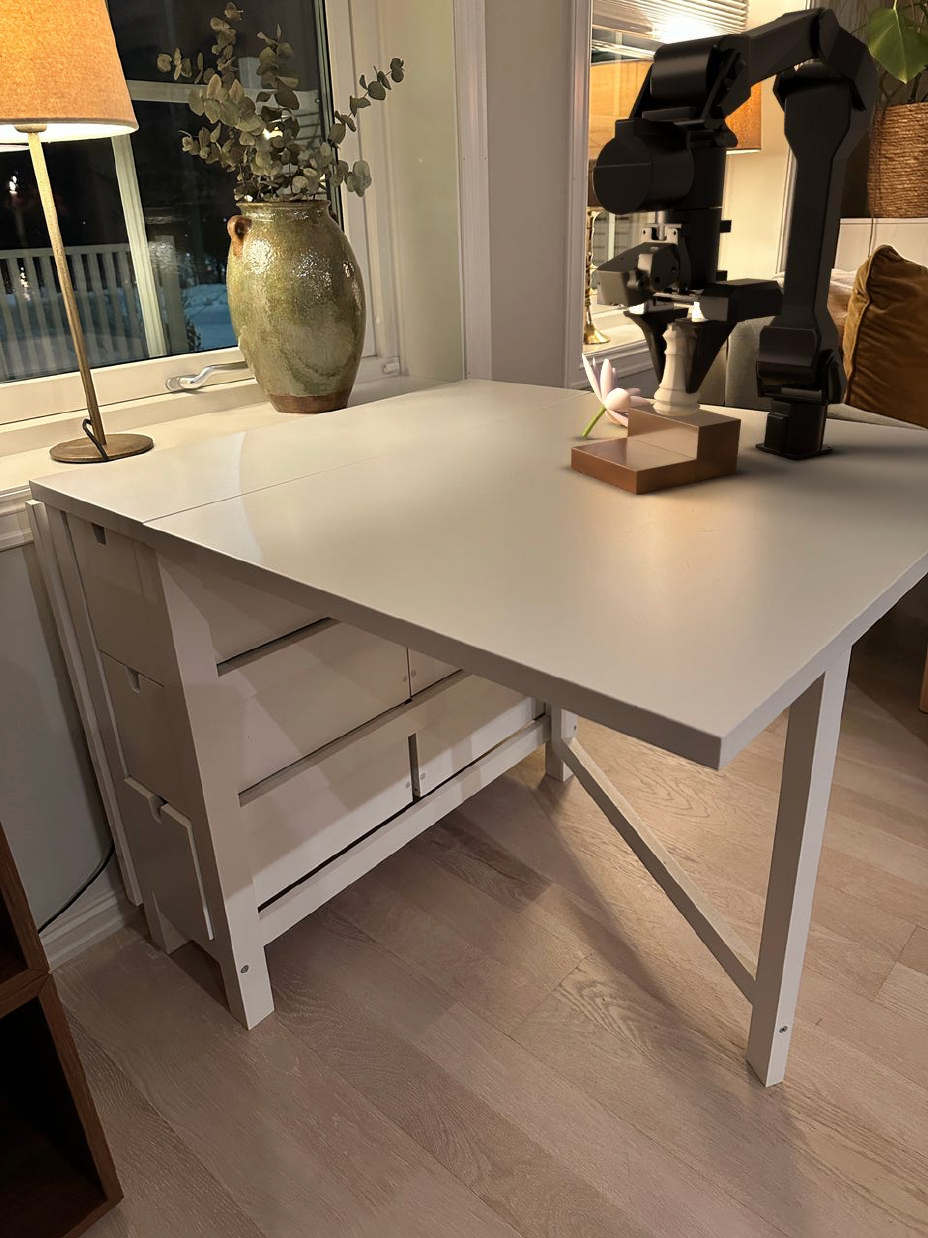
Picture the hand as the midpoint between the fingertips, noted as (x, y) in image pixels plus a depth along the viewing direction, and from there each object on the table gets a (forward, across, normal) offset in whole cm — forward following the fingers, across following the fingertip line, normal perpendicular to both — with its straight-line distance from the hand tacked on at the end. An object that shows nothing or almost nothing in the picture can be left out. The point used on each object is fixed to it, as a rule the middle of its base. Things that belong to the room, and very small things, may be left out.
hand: (677, 389), depth 84 cm
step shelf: (+12, -11, +8) cm, 18 cm away
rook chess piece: (+2, 0, 0) cm, 2 cm away
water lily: (+12, -26, +14) cm, 32 cm away
